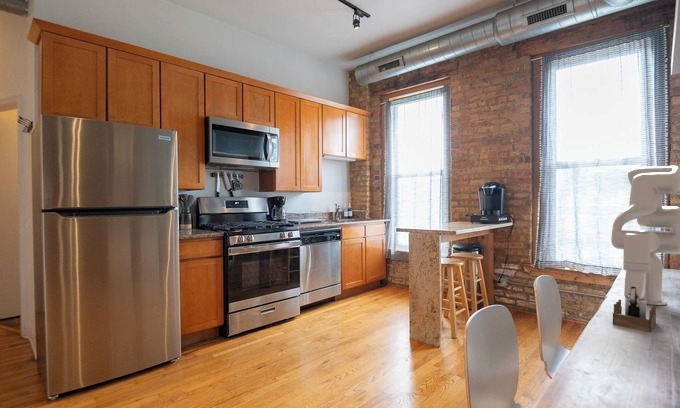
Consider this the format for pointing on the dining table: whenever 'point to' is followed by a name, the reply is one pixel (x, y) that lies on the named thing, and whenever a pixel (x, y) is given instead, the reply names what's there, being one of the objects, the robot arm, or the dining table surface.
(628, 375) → the dining table surface
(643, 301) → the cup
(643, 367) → the dining table surface
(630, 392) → the dining table surface
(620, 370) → the dining table surface
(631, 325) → the rack
